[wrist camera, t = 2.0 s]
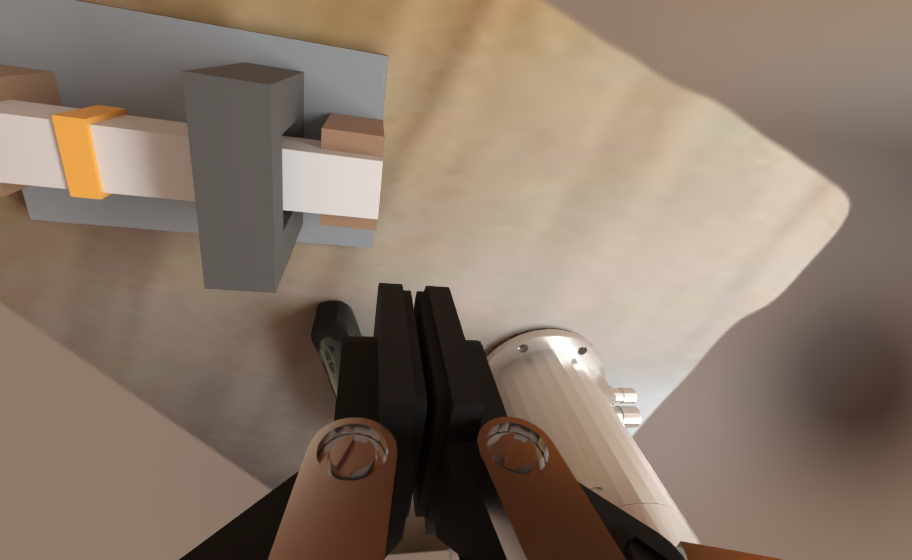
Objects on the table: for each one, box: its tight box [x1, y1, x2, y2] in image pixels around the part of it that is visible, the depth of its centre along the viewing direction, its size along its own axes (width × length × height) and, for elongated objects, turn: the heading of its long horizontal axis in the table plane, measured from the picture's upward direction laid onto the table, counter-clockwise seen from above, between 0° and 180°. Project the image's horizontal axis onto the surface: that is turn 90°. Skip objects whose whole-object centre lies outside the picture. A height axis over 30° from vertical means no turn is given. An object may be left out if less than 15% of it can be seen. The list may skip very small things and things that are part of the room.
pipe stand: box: [0, 0, 388, 248], centre depth 23 cm, size 20×12×8 cm, turn 80°
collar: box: [182, 62, 304, 293], centre depth 22 cm, size 3×9×9 cm, turn 170°
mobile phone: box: [311, 301, 361, 399], centre depth 35 cm, size 5×3×15 cm
